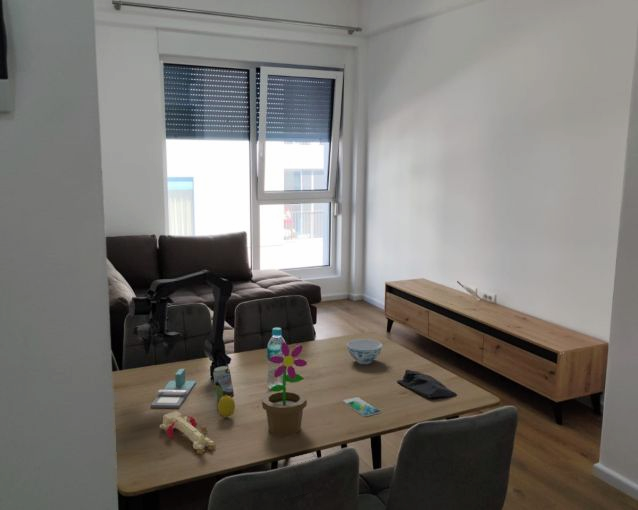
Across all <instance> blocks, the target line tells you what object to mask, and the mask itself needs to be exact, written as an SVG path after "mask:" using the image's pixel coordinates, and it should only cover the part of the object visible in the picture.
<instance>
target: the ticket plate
mask: <svg viewBox="0 0 638 510" xmlns="http://www.w3.org/2000/svg"><path fill="white" fill-rule="evenodd" d="M191 391H192V390H191V388H176V387H166V386H165V387H163V389H159V390H157V396H156V397H155V399H154V400H153V401H152V403H150V409H151V408H153V409H159V408H160V409H180V408H181V406H182V405H183V403H184V402H185V401H186V399H187V398H188V395H189V394H190V393H191Z"/></svg>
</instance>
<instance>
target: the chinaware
mask: <svg viewBox="0 0 638 510" xmlns="http://www.w3.org/2000/svg"><path fill="white" fill-rule="evenodd" d="M346 347H347V351H348V353H349V355H350V356H351V357H352V358H353V359H354V360H356V363H357V362H358V364H360V365H370V364H372V363H373V361H374V360H376V358H378V357H379V355H380V354H381V351H382V348H383V343H381V342H380V341H378V340H375V339H369V338H358V339H353V340H350V341H348V342H347V343H346ZM371 362H372V363H371ZM369 363H370V364H369Z"/></svg>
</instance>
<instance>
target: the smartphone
mask: <svg viewBox="0 0 638 510" xmlns="http://www.w3.org/2000/svg"><path fill="white" fill-rule="evenodd" d="M341 402H342V403H343V404H345V405H346V406H347V407H349V408H350V409H352V410H354V411H355V413H357V414H359V415H360V416H362V417H364V418H366V417H370V416H375V415H378V414H382V411H381V410H380V409H378V408H376V406H373V405H371V404H370V403H368V402H367V401H366V400H364V399H362V398H361V397H359V396H354V397H349V398H345V399H342V400H341Z"/></svg>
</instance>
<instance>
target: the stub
mask: <svg viewBox="0 0 638 510" xmlns="http://www.w3.org/2000/svg"><path fill="white" fill-rule="evenodd" d="M174 375H175V376H174V377H175V380H170V381H168V383H167V384H166V386H165V387H176V388H191V391H192V389H193V388H194V387H195V385H196V384H197V381H196V380H186V369H185V368H178V370H177V371H176V372H175V374H174Z"/></svg>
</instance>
